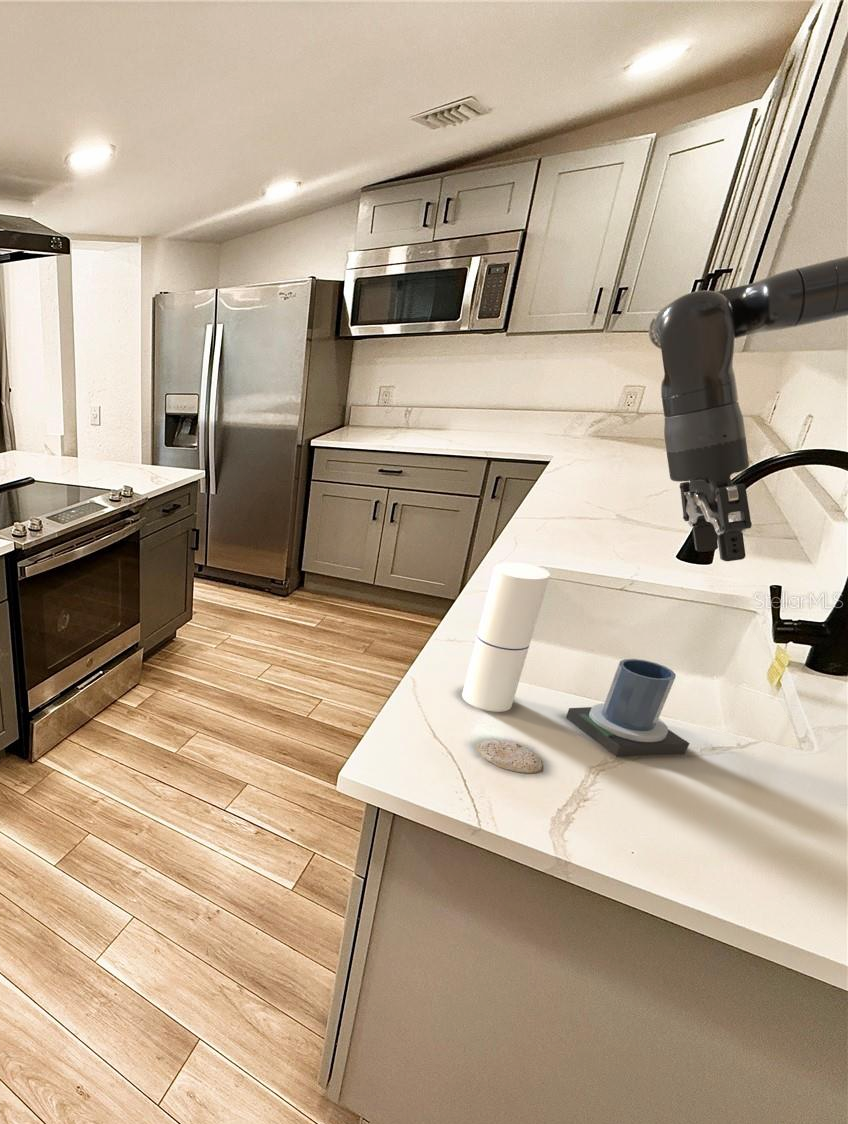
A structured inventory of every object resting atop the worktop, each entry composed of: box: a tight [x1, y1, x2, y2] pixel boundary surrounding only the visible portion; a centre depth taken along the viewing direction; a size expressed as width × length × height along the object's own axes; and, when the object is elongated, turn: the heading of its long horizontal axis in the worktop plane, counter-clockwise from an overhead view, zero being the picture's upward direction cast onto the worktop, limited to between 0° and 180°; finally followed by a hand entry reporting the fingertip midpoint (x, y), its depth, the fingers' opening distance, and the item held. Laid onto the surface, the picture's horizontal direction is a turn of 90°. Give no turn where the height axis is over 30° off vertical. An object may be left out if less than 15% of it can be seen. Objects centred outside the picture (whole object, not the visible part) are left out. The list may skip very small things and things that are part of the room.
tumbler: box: [602, 658, 677, 731], centre depth 93 cm, size 6×6×9 cm
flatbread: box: [476, 740, 543, 774], centre depth 93 cm, size 8×8×1 cm
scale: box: [565, 702, 690, 758], centre depth 96 cm, size 10×10×4 cm
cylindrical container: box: [461, 562, 551, 713], centre depth 102 cm, size 7×7×25 cm
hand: (719, 555), depth 86 cm, fingers open, 8 cm apart
